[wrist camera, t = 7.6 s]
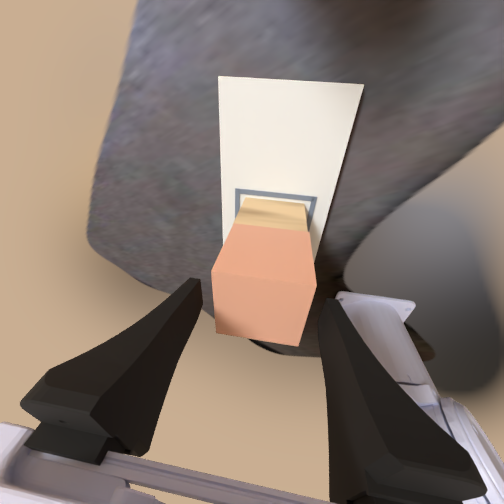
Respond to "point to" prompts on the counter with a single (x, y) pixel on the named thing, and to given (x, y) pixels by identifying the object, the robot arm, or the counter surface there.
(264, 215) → the oak block
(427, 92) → the counter surface
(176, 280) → the counter surface
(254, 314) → the terracotta block
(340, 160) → the mat
